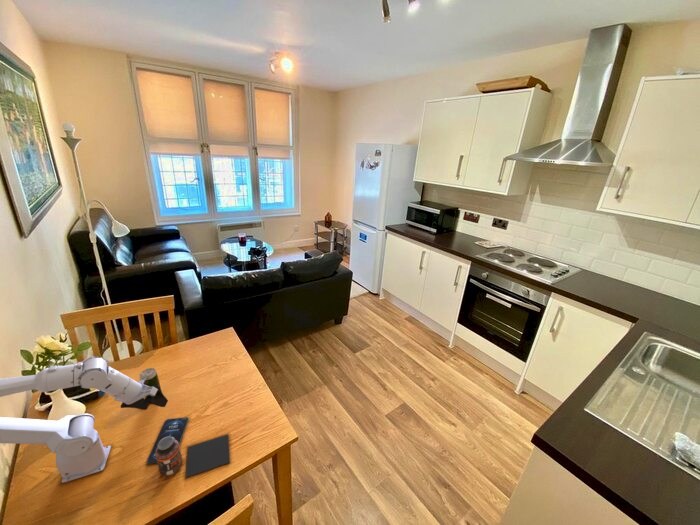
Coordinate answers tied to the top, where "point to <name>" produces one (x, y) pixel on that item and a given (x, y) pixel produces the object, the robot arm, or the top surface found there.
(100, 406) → the top surface
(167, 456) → the supplement bottle
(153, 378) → the beer can
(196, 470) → the mat
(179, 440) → the smartphone
